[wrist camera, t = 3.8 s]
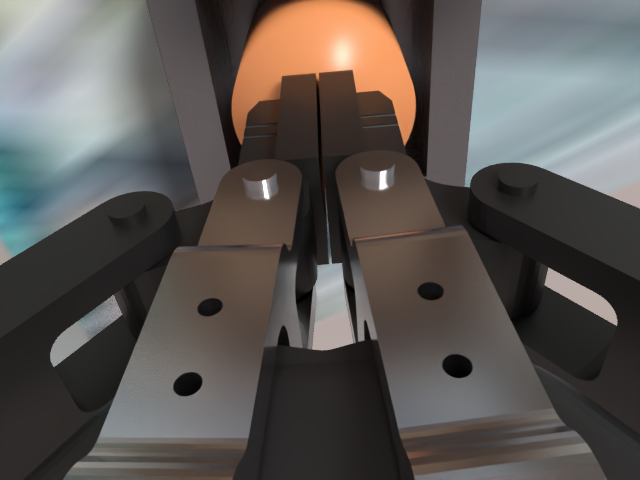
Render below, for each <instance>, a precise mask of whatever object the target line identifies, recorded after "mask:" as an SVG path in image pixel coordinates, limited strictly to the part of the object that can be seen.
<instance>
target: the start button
mask: <svg viewBox="0 0 640 480" xmlns="http://www.w3.org/2000/svg"><path fill="white" fill-rule="evenodd" d="M343 70H353V75H354V81H355V87H356V92H368V91H380V92H382V93H383V94H384V95H386V96H387V97H388V98H389V99H391V100H392V102H393V106H394V110H395V115H396V117H397V121H398V125H399V128H400V132H401V135H402V139H403V143H404V146H405V144H406V142H407V141H408V139H409V136H410V133H411V131H412V128H413V124H414V119H415V111H416V99H415V92H414V86H413V83H412V80H411V77H410V74H409V71H408V69H407V66H406V63H405V60H404V57H403V55H402V52H401V49H400V46H399V43H398V41H397V38H396V35H395V32H394V29H393V26H392V24H391V21H390V19H389V17H388V15H387V13H386V11H385V10H384V9H383V7H382V6H381V4H380V3H379V2H378V1H377V0H265V2H264V3H263V4H262V5H261V6H260V8H259V9H258V11H257V12H256V14H255V15H254V18H253V20H252V22H251V24H250V27H249V30H248V33H247V37H246V41H245V45H244V49H243V53H242V58H241V62H240V66H239V70H238V74H237V78H236V82H235V86H234V90H233V97H232V118H233V124H234V128H235V132H236V134H237V137H238V139H239V142H240V144H241V145H242V142H243V139H244V131H245V128H246V126H245V125H246V120H247V114H248V112H249V111H250V110H251V109H252V108H253V107H254V106H255V105H256V104H257V103H258V102H259V101H265V100H276V99H280V92H281V81H282V76H288V75H299V74H310V73H316V78H317V88H318V99H319V111H320V90H319V73H321V72H332V71H343ZM320 122H321V113H320Z"/></svg>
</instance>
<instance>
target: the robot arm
mask: <svg viewBox="0 0 640 480" xmlns="http://www.w3.org/2000/svg"><path fill="white" fill-rule="evenodd" d="M319 90H320V111H319V99H318V88H317V78H316V73H310V74H299V75H288V76H282V81H281V92H280V99H276V100H265V101H259V102H258V103H257V104H256V105H255V106H254V107H253V108H252V109H251V110H250V111H249V112H248V114H247V120H246V125H245V126H246V128H245V131H244V139H243V142H242V147H241V153H240V158H239V164H238V166H237V167H235V168H233V169H231V170H230V171H229V172H227V173H226V174H225V175H224V176H223V178H222V179H221V181H220V183H219V186H218V189H217V192H216V195H215V197H214V200H212V201H209V202H207V203H205V204H201V205H198V206H195V207H191V208H188V209H184V210H180V211H177V212H175V211H174V207H173V204H172V202H171V200H170V199H169V198H168V197H166V196H164V195H163V194H160V193H156V192H149V191H141V192H132V193H127V194H123V195H120V196H117V197H114V198H112V199H110V200H108V201H106V202H104V203H102V204H101V205H99V206H97V207H96V208H94V209H92V210H91V211H89V212H87V213H86V214H84V215H82V216H81V217H79V218H78V219H76V220H74V221H73V222H71V223H69V224H68V225H66V226H64V227H63V228H61V229H59V230H58V231H56V232H54V233H53V234H51V235H49V236H48V237H46V238H44V239H43V240H41V241H40V242H38V243H36V244H35V245H33V246H31V247H30V248H28V249H26V250H25V251H23V252H21V253H20V254H18V255H16V256H15V257H13V258H11V259H10V260H8V261H7V262H5V263H3V264H2V265H0V480H640V209H639V208H637V207H635V206H632V205H630V204H627V203H625V202H623V201H620V200H618V199H615V198H613V197H610V196H608V195H606V194H603V193H601V192H598V191H596V190H594V189H591V188H589V187H586V186H584V185H581V184H579V183H577V182H574V181H572V180H569V179H567V178H565V177H562V176H560V175H557V174H555V173H552V172H550V171H548V170H545V169H543V168H540V167H537V166H533V165H529V164H523V163H501V164H495V165H491V166H488V167H485V168H483V169H481V170H480V171H478V172H477V173H476V174H475V175H474V176H473V177H472V180H471V184H470V188H469V187H460V186H451V185H445V184H440V183H436V182H433V181H430V180H428V179H426V178H424V177H423V175H422V172H421V170H420V168H419V166H418V164H417V163H416V162H415V161H414V160H413V159H412V158H410V157H409V156H407V153H406V150H405V146H404V143H403V139H402V135H401V132H400V128H399V125H398V121H397V117H396V115H395V110H394V106H393V102H392V100H391V99H389V98H388V97H387V96H386V95H384V94H383V93H382V92H380V91H368V92H356V87H355V81H354V75H353V70H343V71H332V72H321V73H319ZM320 113H321V122H320ZM325 191H326V194H325ZM326 201H327V212H328V223H329V234H330V245H331V256H332V264H334V263H342V266H343V278H344V291H345V299H346V305H347V310H348V316H349V321H350V327H351V332H352V338H353V344H350V345H346V346H343V347H339V348H336V349H332V350H324V351H321V350H312V343H313V332H314V320H315V309H316V288H315V283H316V280H317V265H323V264H329V258H328V237H327V215H326ZM548 267H549V268H551V269H553V270H554V271H556V272H558V273H560V274H562V275H564V276H566V277H567V278H569V279H571V280H573V281H575V282H577V283H579V284H580V285H582V286H584V287H586V288H588V289H590V290H592V291H594V292H595V293H597V294H599V295H601V296H602V297H603V298H604V299H606V300H607V301H608V302H609V303H610V305H611V306H612V307H613V309H614V311H615V313H616V315H617V319H618V324H617V326H616V325H614V324H612V323H610V322H608V321H607V320H605V319H603V318H601V317H600V316H598V315H596V314H594V313H593V312H591V311H589V310H587V309H585V308H584V307H582V306H580V305H578V304H577V303H575V302H573V301H571V300H569V299H568V298H566V297H564V296H562V295H560V294H559V293H557V292H555V291H553V290H551V289H550V288H548V287H546V286H545V285H544V284H545V279H546V275H547V271H548ZM112 295H114V296H115V299H116V301H117V303H118V305H119V308H120V310H121V312H122V314H123V315H122V316H121V317H119V318H118V319H117V320H115V321H114V322H113V323H111V324H110V325H109V326H107V327H106V328H105V329H104V330H102V331H101V332H100V333H98V334H97V335H96V336H94V337H93V338H92V339H91V340H89V341H88V342H87V343H85V344H84V345H83V346H81V347H80V348H79V349H78V350H76V351H75V352H74V353H72V354H71V355H70V356H68V357H67V358H66V359H64V360H63V361H62V362H61V363H59V364H58V365H57V366H55V367H53V365H52V363H51V361H50V352H51V348H52V345H53V344H54V342H55V340H56V339H57V337H58V336H59V335H60V334H61V333H62V332H63V331H65V330H66V329H67V328H68V327H70V326H71V325H73V324H74V323H75V322H77V321H78V320H80V319H81V318H82V317H84V316H85V315H86V314H88V313H89V312H90V311H92V310H93V309H95V308H96V307H97V306H99V305H100V304H101V303H103V302H104V301H105V300H107V299H108V298H110V297H111V296H112Z"/></svg>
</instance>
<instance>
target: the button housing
mask: <svg viewBox="0 0 640 480" xmlns="http://www.w3.org/2000/svg"><path fill="white" fill-rule="evenodd" d="M146 1H147V5H148V8H149V12H150V16H151V20H152V23H153V27H154V31H155V35H156V38H157V42H158V46H159V50H160V54H161V57H162V61H163V65H164V69H165V72H166V76H167V80H168V84H169V88H170V91H171V95H172V99H173V103H174V106H175V110H176V114H177V118H178V121H179V125H180V129H181V133H182V137H183V140H184V144H185V148H186V152H187V155H188V159H189V163H190V167H191V170H192V174H193V178H194V182H195V186H196V189H197V193H198V197H199V201H200V204H205V203H207V202H209V201H212V200H214V197H215V195H216V192H217V189H218V186H219V183H220V181H221V179H222V178H223V176H224V175H225V174H226V173H227V172H229V171H230V170H231V169H233V168H235V167H237V166H238V164H239V158H240V153H241V147H242V145H241V144H240V142H239V139H238V137H237V134H236V132H235V128H234V124H233V118H232V97H233V90H234V86H235V82H236V78H237V74H238V70H239V66H240V62H241V58H242V53H243V49H244V45H245V41H246V37H247V33H248V30H249V27H250V24H251V22H252V20H253V18H254V15H255V14H256V12H257V11H258V9H259V8H260V6H261V5H262V4H263V3H264V2H265V0H146ZM377 1H378V2H379V3H380V4H381V6H382V7H383V9H384V10H385V11H386V13H387V15H388V17H389V19H390V21H391V24H392V26H393V29H394V32H395V35H396V38H397V41H398V43H399V46H400V49H401V52H402V55H403V57H404V60H405V63H406V66H407V69H408V71H409V74H410V77H411V80H412V83H413V86H414V92H415V99H416V111H415V119H414V124H413V128H412V131H411V133H410V136H409V139H408V141H407V142H406V144H405V150H406V153H407V156H409V157H410V158H412V159H413V160H414V161H415V162H416V163H417V164H418V166H419V168H420V170H421V172H422V175H423V177H424V178H426V179H428V180H430V181H433V182H436V183H440V184H445V185H451V186H460V187H464V185H465V174H466V163H467V153H468V142H469V131H470V121H471V110H472V99H473V89H474V78H475V67H476V57H477V46H478V36H479V25H480V14H481V4H482V0H377ZM325 194H326V191H325ZM326 215H328V212H327V201H326Z"/></svg>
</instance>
